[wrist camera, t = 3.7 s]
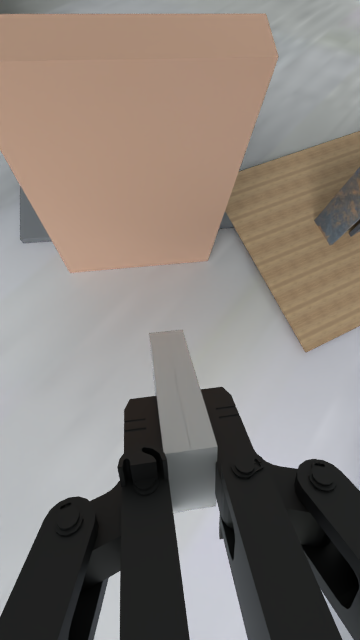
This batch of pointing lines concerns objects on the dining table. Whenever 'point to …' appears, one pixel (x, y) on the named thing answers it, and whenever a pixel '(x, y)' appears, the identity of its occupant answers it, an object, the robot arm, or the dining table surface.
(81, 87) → the tile
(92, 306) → the dining table surface
